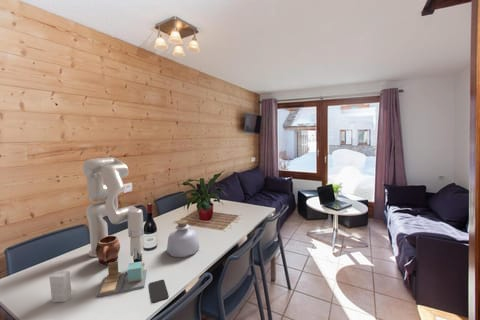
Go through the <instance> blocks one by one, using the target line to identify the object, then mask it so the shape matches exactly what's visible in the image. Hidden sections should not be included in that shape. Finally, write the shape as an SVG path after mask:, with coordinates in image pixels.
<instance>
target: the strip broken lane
mask: <svg viewBox="0 0 480 320" xmlns="http://www.w3.org/2000/svg"><path fill="white" fill-rule="evenodd" d="M107 271H108V272H107V273H108V274H107V275H106V276H107V277H106V276H105V277H106V279H105V282H104V284H105V283H111V282H116V281H118V280H119V277H120V274H122V273H121V271H119V261H118V260H117V261H116V262H111V263H109V264H108V265H107Z"/></svg>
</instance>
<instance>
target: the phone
mask: <svg viewBox="0 0 480 320" xmlns="http://www.w3.org/2000/svg"><path fill="white" fill-rule="evenodd" d="M148 291H149V295H150V296H149V297H150V300H151V301H150V302H151V303H152V304H155V303H159V302H162V301H165V300H168V298H170V297H169V292H168V288H167V285H166V282H165V280H164V279H159V280H156V281H152V282H149V283H148Z"/></svg>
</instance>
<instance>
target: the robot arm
mask: <svg viewBox="0 0 480 320" xmlns="http://www.w3.org/2000/svg"><path fill="white" fill-rule="evenodd" d="M82 171H83V174H84V176H85V178H86V179H85V180H86V191H87V192H86V193H87V198H88V200H89V202H94V203H91V204H89V205H87V207H86V209H85V214H86V217H87V221H88V227H89V228H88V229H89V241H90V250H89V251H88V256H89V257H91V258H98V257H97V255H96V247H97V244H98V241H99V240H100V239H101V238H103V237H106V236H109V231H108V223H107V221H106V219H104V218H105V217H107V218H108V219H109V222H110V223H111V224H112V225H119V224H123V223H124V222H125V223H126V222H127V232H128V238H130V240H129V241H130V242H129V247H130V257H133V256H134V260H133V263H135V262H141V258H140V254H141V253H142V249H143V236H144V234H145V231H144V230H145V229H144V228H145V227H144V214H143V213H144V212H143V209H141V208H137V207H136V206H134V205H129V206H124V207H121V208H119V204H118V203H119V202H118V195H120V194H121V193H123V192H124V191H125V190H126V186H125V184H124V181H123V178H127V176H129V174H130V173H129V171H130V170H129V168H128V165H127V164H126V163H125V162H123V161H121V160H119V159H118V158H116V157H110V156H109V157H97V158H90V159H87V160H85V161H84V162H83V164H82ZM137 255H139V256H137Z"/></svg>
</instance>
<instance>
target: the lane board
mask: <svg viewBox="0 0 480 320" xmlns="http://www.w3.org/2000/svg"><path fill="white" fill-rule="evenodd" d="M147 271H148V270H147V269H144V270H143V276H142V281H137V282H132V283H128V271H126V272H124V273H121V274H120V277H119V280H118V281H116V282H111V283H105V284H104V282H105V279H106V277H107V275H106V276H104V277H103V280H102V282H101V284H100V286H99V289H98V291H97V293H96V297H103V296H107V295H108V296H109V295H113V294H119V293H123V292H124V293H125V292H129V291H134V290H138V289H144V288H145V286H146V279H147Z"/></svg>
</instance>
